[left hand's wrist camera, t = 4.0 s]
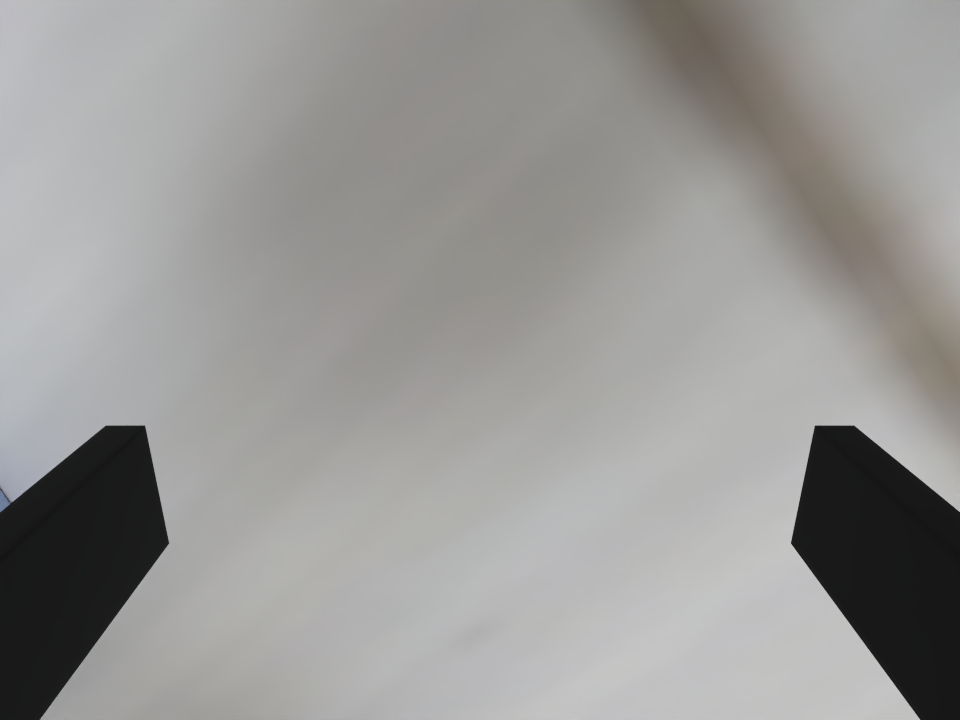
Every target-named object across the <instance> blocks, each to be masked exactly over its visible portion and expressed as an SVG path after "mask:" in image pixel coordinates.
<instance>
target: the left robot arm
mask: <svg viewBox="0 0 960 720" xmlns="http://www.w3.org/2000/svg"><path fill="white" fill-rule="evenodd" d="M168 544H169V541H168V536H167V531H166V526H165V521H164V516H163V512H162V507H161V502H160V497H159V492H158V487H157V482H156V477H155V472H154V467H153V463H152V458H151V453H150V448H149V443H148V438H147V433H146V428H145V426H105V427H104V428H102V429H101V430H100V431H99V432H98V433H96V434H95V435H94V436H93V437H91V438H90V439H89V440H88V441H87V442H85V443H84V444H83V445H82V446H80V447H79V448H78V449H77V450H76V451H74V452H73V453H72V454H71V455H69V456H68V457H67V458H66V459H65V460H63V461H62V462H61V463H60V464H59V465H57V466H56V467H55V468H54V469H52V470H51V471H50V472H49V473H48V474H46V475H45V476H44V477H43V478H41V479H40V480H39V481H38V482H37V483H35V484H34V485H33V486H32V487H30V488H29V489H28V490H27V491H26V492H24V493H23V494H22V495H21V496H19V497H18V498H17V499H16V500H15V501H13V502H12V503H11V504H10V505H8V506H7V507H6V508H5V509H4V510H2V511H1V512H0V720H40V718H41V717H42V716H43V714H44V713H45V712H46V710H47V709H48V708H49V706H50V705H51V703H52V702H53V701H54V699H55V698H56V697H57V695H58V694H59V693H60V691H61V690H62V688H63V687H64V686H65V684H66V683H67V682H68V680H69V679H70V678H71V676H72V675H73V673H74V672H75V671H76V669H77V668H78V667H79V665H80V664H81V663H82V661H83V660H84V658H85V657H86V656H87V654H88V653H89V652H90V650H91V649H92V648H93V646H94V645H95V643H96V642H97V641H98V639H99V638H100V637H101V635H102V634H103V633H104V631H105V630H106V628H107V627H108V626H109V624H110V623H111V622H112V620H113V619H114V618H115V616H116V615H117V614H118V612H119V611H120V609H121V608H122V607H123V605H124V604H125V603H126V601H127V600H128V599H129V597H130V596H131V594H132V593H133V592H134V590H135V589H136V588H137V586H138V585H139V584H140V582H141V581H142V579H143V578H144V577H145V575H146V574H147V573H148V571H149V570H150V569H151V567H152V566H153V564H154V563H155V562H156V560H157V559H158V558H159V556H160V555H161V554H162V552H163V551H164V549H165V548H166V547H167V545H168ZM791 544H792V545H793V547H794V548H795V549H796V551H797V552H798V554H799V555H800V556H801V558H802V559H803V560H804V562H805V563H806V564H807V566H808V567H809V569H810V570H811V571H812V573H813V574H814V575H815V577H816V578H817V579H818V581H819V582H820V584H821V585H822V586H823V588H824V589H825V590H826V592H827V593H828V594H829V596H830V597H831V599H832V600H833V601H834V603H835V604H836V605H837V607H838V608H839V609H840V611H841V612H842V614H843V615H844V616H845V618H846V619H847V620H848V622H849V623H850V624H851V626H852V627H853V628H854V630H855V631H856V633H857V634H858V635H859V637H860V638H861V639H862V641H863V642H864V643H865V645H866V646H867V648H868V649H869V650H870V652H871V653H872V654H873V656H874V657H875V658H876V660H877V661H878V663H879V664H880V665H881V667H882V668H883V669H884V671H885V672H886V673H887V675H888V676H889V678H890V679H891V680H892V682H893V683H894V684H895V686H896V687H897V688H898V690H899V691H900V693H901V694H902V695H903V697H904V698H905V699H906V701H907V702H908V703H909V705H910V706H911V708H912V709H913V710H914V712H915V713H916V714H917V716H918V717H919V718H920V720H960V512H959V511H958V510H956V509H955V508H954V507H953V506H952V505H950V504H949V503H948V502H947V501H945V500H944V499H943V498H942V497H941V496H939V495H938V494H937V493H936V492H934V491H933V490H932V489H931V488H930V487H928V486H927V485H926V484H925V483H923V482H922V481H921V480H920V479H919V478H917V477H916V476H915V475H914V474H912V473H911V472H910V471H909V470H908V469H906V468H905V467H904V466H903V465H901V464H900V463H899V462H898V461H897V460H895V459H894V458H893V457H892V456H891V455H889V454H888V453H887V452H886V451H884V450H883V449H882V448H881V447H880V446H878V445H877V444H876V443H875V442H873V441H872V440H871V439H870V438H869V437H867V436H866V435H865V434H864V433H862V432H861V431H860V430H859V429H858V428H856V427H855V426H815V428H814V433H813V438H812V443H811V448H810V453H809V458H808V462H807V467H806V472H805V477H804V482H803V487H802V492H801V497H800V502H799V507H798V511H797V516H796V521H795V526H794V531H793V536H792V541H791Z"/></svg>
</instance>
